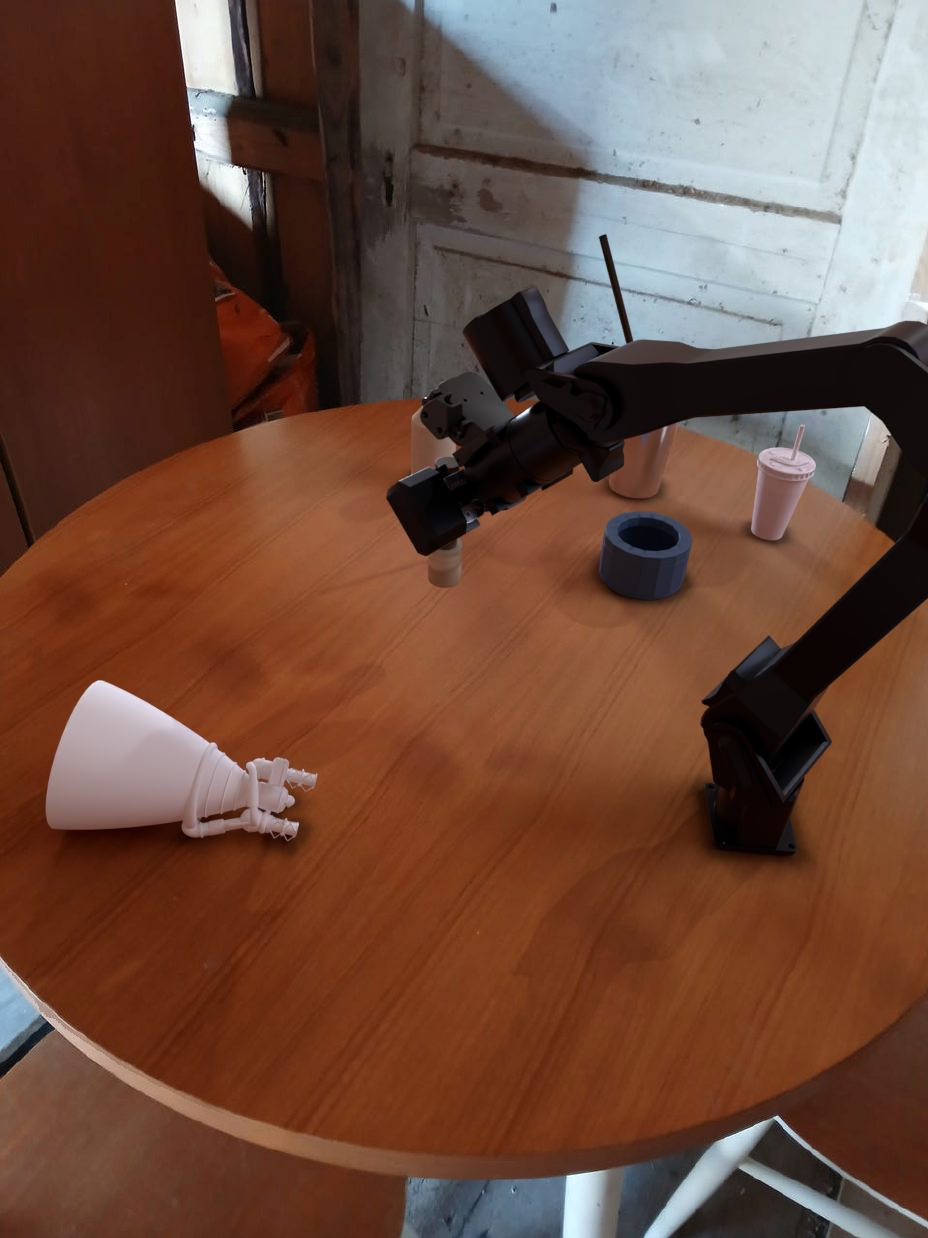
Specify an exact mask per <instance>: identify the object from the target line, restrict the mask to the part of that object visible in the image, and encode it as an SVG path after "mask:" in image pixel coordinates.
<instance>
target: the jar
mask: <svg viewBox="0 0 928 1238" xmlns="http://www.w3.org/2000/svg"><path fill="white" fill-rule="evenodd" d="M692 545H693V538H692V533H691V532H690V530H689V529H688V528H687V527H686V526H685V525H684V524H683V523H682V522H681V521H678V520H676V519H675V518H673V517H671V516H669V515H666V514H662V513H657V512H655V511H642V510H641V511H640V510H634V511H628V512H622V513H619V514H618V515H615V516H613V517H612V518H610V519H609V520H608V522H607V523H606V525H605V526H604V531H603V538H602V545H601V550H600V558H599V568H598V573H599V577H600V579H601V581H602V582H603V584H604V585H606V586H607V587H608V588H609V589H610V590H612V591H613V592H615V593H617V594H619V595H621V596H625V597H628V598H631V599H635V600H642V601H643V600H644V601H654V600H662V599H666V598H668V597H671V596H673V595H675V594H676V593H677V592H679V590H680V589H681V587H682V586H683V583H684V582H683V581H684V580H685V576H686V572H687V567H688V562H689V557H690V554H691V549H692Z"/></svg>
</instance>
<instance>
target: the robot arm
mask: <svg viewBox="0 0 928 1238" xmlns="http://www.w3.org/2000/svg"><path fill="white" fill-rule="evenodd" d="M461 333H462V335H463V337H464V338H465V340H466V342H467V344H468V345H469V348H470V349H471V351H472V353H473V354H474V356H475V358H476V359H477V362H478V364H479V365H480V367H481V369H482V370H483V372H484V374H485V375H486V377H487V380H488V381H489V383H490V384H491V385H490V384H489V383H488V382H487V380H485V379H484V378H483V377H482V376H481V375H480V374H478V373H477V372H474V371H465V372H463V373H461V374H458V375H456V376H454V377H451V378H448V379H446V380H444V381H441V382H440V383H439V384H438V386H437V388H434V389H432V390H431V391H430V393H429V395H428V396H426V397H423V398H421V407H422V406H423V408H422V411H421V413H420V419H421V422H422V424H423V425H424V426H425V427H426V428H427V429H428V430H429V431H430V432H431V433H432V434H433V435H434V436H435V437H436V438H437V439H438V440H442V439H445V438H447V437H449V438H450V439H451V440H452V441H453V442H454V443H455V444H456V446H458V447H460V448H458V449H456V451H455V452H454V453H453V454H452V455H453V457H454V458H455V460H456V462H457V464H458V465H459V467H460V468H461V469H460V471H458V472H456V473H453V474H451V472H450V470H449V469H448V467H447V465H446V464H443V465H441V466H439V467H437V468H435V469H432V468H430V467H427V468H425V469H423V470H421V471H419V472H417V473H415V474H413V475H412V474H411V475H409V476H406V477H404V478H402V479H400V480H398V481H397V482H395V483H394V484H393V485H391V487H389V488H387V490H386V495H385V499H386V500H387V502H388V504H389V506H390V507H391V509H392V511H393V513H394V515H395V516H396V518H397V520H398V521H399V524H400V525H401V527H402V529H403V530H404V532H405V534H406V535H407V538H408V539H409V541H410V542H411V544H412V546H413V548H414V549H415V551H416V553H417V554H418V555H421V556H423V557H428V555H430V554H432V553H433V552H435V551H437V550H439V549H441V548H442V547H444V546H446V545H448V544H449V543H451V542H453V541H455V540H456V539H458V538H459V539H460V538H462V537H463V536H465V535H466V534H468V533H469V532H471V531H473V530H474V529H476V528H478V527H480V526H481V523H480V522H479V520H478V519H479V518H481V517H483V516H484V515H485V513H490V515H491V517H493V516H495V515H496V514H498V513H500V512H503V511H508V510H510V509H512V508H514V507H516V506H517V505H520V503H523V502H524V501H525V500H526V499H527V497H528V496H530V495H532V494H533V493H535V492H536V491H537V490H539V489H541V491H542V492H544V491H546V490H547V489H549V488H551V487H552V486H554V485H556V484H558V483H560V482H562V481H563V480H565V479H566V478H568V477H570V476H572V475H573V474H574V468H576V467H578V466H579V465H581V464H582V466H583V468H584V470H585V472H586V474H587V475H588V477H589V479H590V480H591V482H593V483H598V482H600V481H603V479H605V478H607V477H610V474H612V473H614V472H615V471H617V470H619V469H620V468H622V467H623V466H624V452H623V448H624V445H625V441H624V440H625V439H628V438H632V437H636V436H640V435H643V434H647V433H649V432H652V431H655V430H658V429H661V428H664V427H666V426H669V425H672V424H675V423H678V422H679V423H681V422H684V421H687V420H692V419H695V418H711V417H726V416H742V415H755V414H756V415H757V414H771V413H787V412H800V411H801V412H803V411H817V410H832V409H834V410H835V409H846V408H866V409H867V410H868V411H869V412H870V413H871V414H872V415H874V416H875V417H876V418H877V419H878V420H880V421H881V423H883V425H884V426H885V428H886V430H887V431H888V432H889V434H890V436H891V437H892V438H893V440H894V441H895V443H896V444H897V446H898V448H899V449H900V450H901V452H902V453H903V455H904V456H905V458H906V460H907V461H908V462H909V464H910V465H911V467H913V468H914V470H915V471H916V472H917V473H918V474H919V475H921V476H922V477H923V478H925V479H926V480H927V481H928V324H927V323H925V322H922V321H920V320H902V321H898V322H896V323H893V324H891V325H888V326H886V327H880V328H872V329H865V330H857V331H849V332H840V333H833V334H825V335H817V336H808V337H802V338H801V337H799V338H794V339H793V338H792V339H785V340H776V341H769V342H759V343H751V344H744V345H737V346H729V347H720V348H704V347H697V346H692V345H690V344H687V343H685V342H683V341H682V342H681V341H674V340H673V341H672V340H658V339H644V338H643V339H636V340H633V342H630V343H627V344H626V343H625V344H623V345H614V344H608V343H601V342H595V341H589V342H588V343H585V344H584V345H583V344H582V345H581V346H579V347H577V348H574V349H572V350H570V349H569V347H568V345H567V343H566V341H565V339H564V338H563V336H562V333H561V332H560V331H559V328H558V327H557V325H556V323H555V321H554V320H553V318H552V316H551V315H550V312H549V310H548V307H547V305H546V301H545V299H544V297H543V295H542V294H541V292H540V290H539V288H538V286H536V285H533V286H530V287H527V288H525V289H521V290H517V292H515V294H514V295H512V296H511V297H510V298H509V299H507V300H504V301H503V302H501V303H500V304H497V305H496V306H494V307H493V308H491V309H490V310H489V311H487V312H485V313H483V314H480V315H478V316H475V317H474V318H472V319H471V321H469V322H468V323H467V324H466V325H465V326H464V327H463V329H462V332H461ZM534 396H535V397H536V398H537V399H538V401H537V402H536V403H534V404H532V405H531V406H530V407H529V408H527V409H525V410H524V411H521V412H520V413H518V414H516V415H515V414H514V413H513V412H512V411H511V409H510V408H509V407H508V404H507V402H506V401H507V400H510V398H512V397H513V398H514V400H515V402H516V403H517V404H521V403H522V402H525V401H527V400H529V399H531V398H533V397H534ZM462 467H463V468H462ZM927 600H928V493H927V494H926V495H925V497H924V498H923V500H921V503H920V505H919V506H918V508H917V510H916V512H915V513H914V516H913V518H912V520H911V521H910V523H909V525H908V526H907V528H906V530H905V531H904V532H903V535H902V536H901V537H900V538H898V540H897V541H896V542H895V543H894V544H893V545H892V546H890V547H889V549H888V550H886V552H885V553H884V554H883V555H882V556H881V557H879V559H878V560H877V561H876V562H874V564H873V565H871V566H870V568H869V569H868V570H867V571H865V573H863V574H862V576H861V577H860V578H859V579H858V580H857V581H856V582H854V583H853V585H852V586H850V588H849V589H847V590H846V592H845V593H843V594H842V595H841V596H840V597H839V598H838V599H837V600H836V601H835V602H834V603H833V604H832V605H831V606H830V608H828V609H827V610H826V611H825V613H823V614H822V615H821V616H820V617H819V618H818V619H817V621H815V623H813V624H812V625H811V626H810V627H809V628H808V629H807V631H805V632H804V633H803V634H802V635H801V636H800V637H799V638H798V639H797V640H796V641H794V642H793V643H791V644H788V645H786V646H784V647H780V646H779V645H778V643H776V641H775V640H774V638H772V637H771V636H770V635H766V637H765V638H764V639H762V641H761V642H760V643H759V644H757V645H756V646H755V647H754V649H752V650H751V651H750V652H749V653H748V654H747V655H746V656H745V657H744V658H743V659H742V660H741V661H740V662H739V663H738V664H736V665H735V667H733V668H732V669H731V670H730V671H729V673H728V674H727V675H726V677H725V678H724V679H723V680H721V681H720V682H719V683H718V684H717V685H716V686H715V687H714V688H713V689H712V690H711V691H709V693H708V694H707V695H705V697H704V698H702V699H701V705H704V706H706V707H707V708H706V709H705V710H704V711H703V713H702V715H701V717H700V722H699V725H700V727H701V728H702V730H703V736H704V737H705V739H706V741H707V746H708V747H707V748H708V755H709V761H710V769H711V775H712V781H713V782H707V783H705V784H704V786H703V794H704V799H705V806H706V811H707V817H708V823H709V828H710V833H711V839H712V844H713V846H714V848H716V849H717V850H718V849H719V850H727V851H740V852H749V853H750V852H752V853H763V854H764V853H765V854H776V855H777V854H778V855H786V856H787V855H790V856H793V855H795V854H796V853H797V852H798V844H797V840H796V836H795V832H794V829H793V825H792V824H793V823H792V821H791V816H792V815H793V811H794V808H795V805H796V803H797V802H798V798H799V796H800V793H801V790H802V788H803V786H804V782H805V777H806V775H807V774H808V773H809V772H810V771H811V769H812V768H813V767H814V766H815V764H816V763H817V762H818V761H819V760H820V759H821V757H822V756H823V755H824V753H825V752H826V751H827V750H828V749H829V748H830V746H831V745H832V744H833V743H832V742H833V741H832V739H831V737H830V735H829V733H828V731H827V730H826V728H825V726H824V724H823V722H822V721H821V718H820V717H819V715H818V713H817V712H816V710H815V708H816V706H818V704H819V702H821V700H822V698H823V697H824V695H825V694H826V692H827V690H828V689H829V687H830V685H832V684H833V683H834V682H835V681H836V680H838V679H839V678H840V677H841V676H842V675H843V674H844V673H846V672H847V671H848V669H850V668H851V667H852V666H853V665H855V663H857V662H858V661H859V660H860V659H861V658H863V656H865V655H866V654H867V653H868V652H869V651H870V650H871V649H872V648H874V647H875V646H876V645H877V644H878V643H880V641H881V640H883V639H884V638H885V637H886V636H888V634H890V632H892V631H894V629H895V628H896V627H898V626H899V624H901V623H902V622H903V621H904V620H906V618H908V617H909V616H910V615H911V614H912V613H913V612H914V611H915V610H916V609H918V608H919V607H920V606H921V605H922V604H923V603H925V601H927Z"/></svg>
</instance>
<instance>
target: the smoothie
mask: <svg viewBox="0 0 928 1238" xmlns="http://www.w3.org/2000/svg"><path fill="white" fill-rule="evenodd" d="M805 429H806V425H805V424H800V425H799V428H798V431H797V435H796V438H795V441H794V444H793V448H789V447H770V448H766V449H764V450H762V451H761V452H760V453H759V455H758V458H757V460H756V465H757V468H758V472H757V480H756V487H755V496H754V504H753V510H752V511H753V512H752V520H751V527H750V531H751V533H752V534H753V535H754V536H755V537H757V538H759V539H760V540H761V539H762V540H765V541H778V540H780V539H782V537H783V536H784V533H785V532H786V530H787V527H788V525H789V524H790V523H789V522H790V520H791V519H792V516H793V514H794V512H795V510H796V507H797V505H798V503H799V502H800V499H801V497H802V495H803V492H804V491H805V488H806V486H807V484H808V482H809V479H811V478H812V477H813V476H814V475H815V470H816V467H817V465H816V462H815V460H814V459H813V458H812V457H811V456H810V455H808V454H806V453H805V452H803V451H800V450H799V449H800V446H801V442H802V439H803V435H804V432H805Z"/></svg>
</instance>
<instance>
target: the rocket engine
mask: <svg viewBox="0 0 928 1238" xmlns="http://www.w3.org/2000/svg"><path fill="white" fill-rule="evenodd" d="M289 765H290V761H289V760H288V759H287V758H283V757H279V756H277V757H275V758H273V760H268V759H266V758H265V757H262V758H260V757H259V758H255V759H254V760H252V761H248V762H247V763H246V765H245V767H246V770H245V769H242V768H241V767H240V766H239V765H238V762H237V761H233V760H232V759H231V758H230V757H229V756H227V755H226V752H222V751H221V750H219V749H218V744H217V743H216V742H214V741H213V742H209V741H208V740H206V739H205V738H203V737H202V736H201V735H199V734H198V733H196V732H194V731H193V730H192V729H190V728H189V727H188V726H186V725H185V724H183V723H181V722H180V721H178V720H177V719H175V718H173V716H170V715H169V714H167V713H165V711H162V710H160V709H159V708H157V707H155V706H154V705H152V704H151V703H149V702H147V701H146V700H143V699H141V698H140V697H138V696H136V695H134V694H132V693H130V692H128V691H127V690H124V689H122V688H120V687H119V686H116V685H114V684H112V683H109V682H107V681H105V680H101V679H100V680H96V681H93V682H92V683H91V684H90V685H89V686H88V687H87V688H86V689H85V691H84V692H83V694H82V695H81V696H80V698H79V700H78V701H77V703H76V704H75V706H74V707H73V710H72V712H71V714H70V716H69V718H68V720H67V721H66V724H65V727H64V730H63V732H62V734H61V737H60V740H59V742H58V746H57V748H56V751H55V754H54V758H53V762H52V765H51V769H50V773H49V778H48V782H47V788H46V795H45V818H46V821H47V824H48V826H49V827H50V828H51V829H52V830H65V831H66V830H67V831H68V830H69V831H74V830H75V831H83V830H84V831H88V830H92V831H93V830H111V829H113V830H115V829H125V828H137V827H147V826H154V825H163V824H169V823H175V822H181V821H182V822H181V830H182V832H183V834H185V835H186V836H188V837H191V838H201V839H203V838H204V837H208V836H218V835H223V834H225V833H226V832H229V831H234V830H239V829H243V830H244V831H246V832H247V833H255V832H258V833H259V834H261V835H263V834H269V833H270V834H271V836H272V838H274V839H276V838H277V837H279V836H280V837H284V839H285V840H286V842H289V841H291V840H292V839H295V838H296V837H297V834H298V830H299V826H300V823H299V821H297V822H295V821H290V820H288V817H285V818H284V819H281V818H278V817H275V816H274V815H273V814H272V812H274V813H276V814H279V813H282V812H283V811H284V810H285V809H286V807H287V809H289V808H290V807H292V806H293V805H295V802H296V800H295V797H294V796H293V795H289V790H288V789H287V788H286V786H284V785H285V781H286V782H287V784H289V786H290V787H291V789H292V790H293V789H295V788H296V787H297V786H298V788H300V787H301V789H302V790H303V791H304V793H306V792H308V791H310V790H311V789H312V790H313V789H315V787H316V782H317V779H318V773H317V772H316V773H310V772H307V771H305V769H304V768H302V770H298V769H296V768H294V767H291V768H289ZM247 770H248V772H247ZM260 779H263V780H267V782H264V781H259V780H260ZM291 782H292V783H295V784H296V785H295V786H292V784H291ZM303 785H305V786H309V787H310V788H308V789H306V790H305V788H304V786H303ZM242 808H247V809H245V810H243V811H242V813H241V814H240V817H235V818H228V819H224V818H219V819H213V820H210V821H207V822H203V821H202V818H205V819H207V818H208V817H209V816H214V815H223V814H224V813H226V812H230V811H233V812H235V811H236V810H239V809H242ZM262 810H263V811H262ZM201 821H202V822H201ZM273 832H274V833H279V834H278V835H276V836H274V834H273ZM286 835H288V836H291V837H290V838H289V839H288V838H287V837H286Z"/></svg>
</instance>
